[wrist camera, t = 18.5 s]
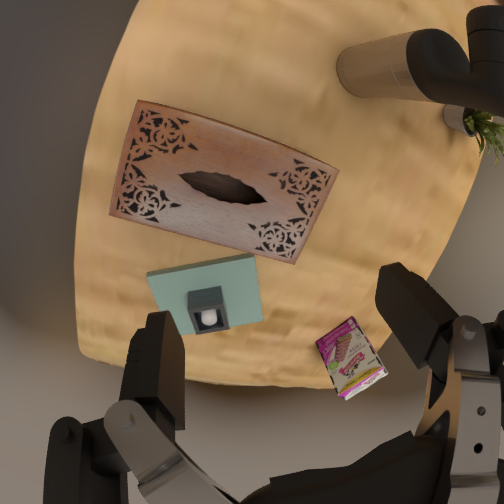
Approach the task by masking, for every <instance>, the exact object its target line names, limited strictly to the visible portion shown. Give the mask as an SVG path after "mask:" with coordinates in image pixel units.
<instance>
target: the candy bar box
mask: <svg viewBox="0 0 504 504" xmlns="http://www.w3.org/2000/svg"><path fill="white" fill-rule="evenodd" d="M316 345H317V347H318V349H319V352H320V354H321V356H322V359H323V361H324V364H325V366H326V368H327V370H328V373H329V375H330V378H331V380H332V382H333V385H334V387H335V390H336V392H337V394H338V396H340V397H342V398H343V399H345V400H347V399H349V398H351V397H352V396H354V395H355V394H357V393H359V392H361V391H362V390H364V389H366V388H367V387H369V386H370V385H371V384H373V383H375V382H376V381H378V380H379V379H381V378H383V377H384V376H386V375H387V374H388V372H387V370H386V369H385V367H384V366H383V363H382V362H381V360H380V358H379V356H378V355H377V353H376V351H375V350H374V348H373V346H372V345H371V343H370V341H369V340H368V338H367V336H366V335H365V333H364V331H363V330H362V328H361V327H360V325H359V324H358V322H357V321H356V320H355V319H354V317H353V316H352V317H351V318H349V319H348V320H347V321H345V322H344V323H342V324H341V325H340V326H338V327H337V328H335V329H334V330H332V331H331V332H330V333H328V334H327V335H325V336H324V337H322V338H321V339H319V340H318V341H316Z"/></svg>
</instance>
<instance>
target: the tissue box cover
mask: <svg viewBox="0 0 504 504" xmlns="http://www.w3.org/2000/svg"><path fill="white" fill-rule="evenodd" d="M339 171H340V170H338V169H336V168H334V167H332V166H330V165H328V164H326V163H324V162H322V161H320V160H318V159H316V158H314V157H312V156H309V155H307V154H305V153H303V152H300V151H298V150H296V149H293V148H291V147H288V146H286V145H284V144H281V143H279V142H276V141H274V140H271V139H268V138H266V137H263V136H261V135H258V134H255V133H252V132H250V131H247V130H244V129H241V128H239V127H236V126H233V125H230V124H227V123H224V122H221V121H218V120H214V119H211V118H208V117H205V116H202V115H198V114H195V113H191V112H188V111H184V110H181V109H177V108H173V107H169V106H166V105H162V104H158V103H153V102H148V101H142V100H137V103H136V106H135V109H134V112H133V115H132V118H131V122H130V125H129V128H128V132H127V135H126V139H125V142H124V146H123V150H122V154H121V158H120V162H119V166H118V170H117V175H116V179H115V184H114V189H113V194H112V199H111V205H110V210H109V215H110V216H113V217H117V218H121V219H125V220H128V221H132V222H136V223H139V224H143V225H147V226H151V227H154V228H158V229H162V230H166V231H169V232H173V233H177V234H181V235H184V236H188V237H192V238H196V239H199V240H203V241H207V242H211V243H214V244H218V245H222V246H226V247H229V248H233V249H237V250H241V251H245V252H248V253H252V254H256V255H260V256H263V257H267V258H271V259H275V260H278V261H282V262H286V263H290V264H294V265H295V263H296V261H297V259H298V257H299V255H300V253H301V251H302V249H303V247H304V245H305V243H306V241H307V239H308V237H309V235H310V233H311V231H312V228H313V226H314V224H315V222H316V220H317V218H318V216H319V214H320V212H321V210H322V208H323V206H324V203H325V201H326V199H327V197H328V195H329V193H330V191H331V188H332V186H333V184H334V182H335V180H336V178H337V175H338V173H339Z"/></svg>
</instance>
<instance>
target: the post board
mask: <svg viewBox="0 0 504 504" xmlns="http://www.w3.org/2000/svg"><path fill="white" fill-rule="evenodd" d="M146 278H147V281H148V283H149V286H150V288H151V291H152V293H153V296H154V298H155V301H156V303H157V305H158V308H159V310H160V311H166V310H169V311H170V312H171V314H172V317H173V319H174V321H175V324H176V326H177V328H178V331H179V333H180V335H187V334H193V333H196V332H195V330H194V327H193V324H192V322H191V319H190V316H189V313H188V310H187V305H188V291H194V290H199V289H205V288H210V287H216V286H221V287H222V292H223V296H224V300H225V304H226V309H227V314H228V321H229V327H234V326H239V325H244V324H249V323H254V322H259V321H263V315H262V308H261V301H260V293H259V286H258V279H257V271H256V264H255V257H254V254H252V253H248V254H242V255H237V256H232V257H226V258H221V259H216V260H210V261H205V262H200V263H194V264H189V265H184V266H179V267H173V268H168V269H163V270H157V271H152V272H147V276H146ZM217 309H219V308H217ZM200 312H201V317H202V322H203V323H204V324H205V325H213V324H215V323H216V322H217V315H216V309H211V310H205V311H200Z"/></svg>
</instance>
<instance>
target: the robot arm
mask: <svg viewBox="0 0 504 504" xmlns="http://www.w3.org/2000/svg"><path fill="white" fill-rule="evenodd" d="M466 28H467V36H468V47H469V59H470V63H469V60H468V58H467V56H466V54H465V52H464V50H463V49H462V47H461V46H460V45H459V43H458V42H457V41H456V40H455V39H454V38H453V37H452V36H450V35H449V34H448V33H446V32H444V31H442V30H439V29H423V30H418V31H413V32H408V33H403V34H399V35H395V36H390V37H386V38H382V39H379V40H375V41H371V42H368V43H364V44H361V45H357V46H354V47H351V48H348V49H346V50H345V51H343V52H342V53H341V55H340V56H339V58H338V61H337V73H338V77H339V79H340V81H341V83H342V84H343V86H344V87H345V88H346V89H347V90H348V91H349V92H350V93H352V94H353V95H355V96H358V97H361V98H387V99H404V100H416V101H427V102H436V103H443V104H450V105H456V106H461V107H466V108H471V109H476V110H480V111H484V112H488V113H491V114H494V115H497V116H500V117H503V118H504V6H501V5H486V6H480V7H477V8H474V9H472V10H471V11H469V13H468V14H467V17H466ZM375 303H376V307H377V310H378V311H379V313H380V314H381V316H382V317H383V318H384V320H385V321H386V323H387V324H388V326H389V327H390V328H391V330H392V331H393V333H394V334H395V335H396V337H397V338H398V340H399V341H400V343H401V344H402V346H403V347H404V348H405V350H406V352H407V353H408V355H409V356H410V358H411V359H412V361H413V362H414V364H415V365H416V367H417V368H418V369H421V368H423V367H425V366H427V365H429V366H430V368H431V369H430V371H429V374H428V383H427V391H426V398H425V405H424V411H423V416H422V418H421V421H420V422H419V424H418V427H417V429H416V432H415V436H413V434H412V432H411V430H410V431H408V432H406V433H404V434H402V435H400V436H398V437H396V438H394V439H392V440H389V441H387V442H385V443H383V444H381V445H379V446H378V447H376V448H375V449H373V450H372V451H371V452H369V453H368V454H366V455H365V456H363V457H362V458H360V459H359V460H357V461H356V462H354V463H353V464H351V465H349V466H345V467H337V468H325V469H310V470H309V469H308V470H304V471H300V472H296V473H291V474H287V475H282V476H277V477H272V478H270V484H268V485H266V486H263V487H262V488H260V489H258V490H256V491H254V492H253V493H251V494H250V495H248V496H247V497H246V498H245V499H244V500H242V501H241V502H239V501H238V500H237V499H236V498H235V497H233V496H232V495H231V494H230V493H228V492H227V491H226V490H225V489H224V488H223V487H221V486H220V485H219V484H218V483H217V482H216V481H214V480H213V479H212V478H211V477H209V475H208V474H207V473H205V472H204V471H203V470H202V469H201V468H200V467H199V466H198V465H197V464H196V463H195V462H194V461H193V460H192V459H191V458H190V457H189V456H188V454H187V453H186V452H185V451H184V450H183V449H182V448H181V447H180V446H179V445H178V444H177V443H176V442H175V430H185V408H184V407H185V398H184V397H185V394H184V393H185V348H184V343H183V340H182V337H181V335H180V333H179V331H178V328H177V326H176V324H175V321H174V319H173V317H172V314H171V312H170V311H169V310H166V311H160V312H153V313H149V314H148V316H147V321H146V326H145V328H141V329H138V330H137V331H136V333H135V334H134V336H133V337H132V339H131V341H130V345H129V350H128V352H129V354H128V355H127V359H126V362H127V363H126V364H125V369H124V375H123V380H122V385H121V391H120V397H119V401H118V402H116V403H114V404H113V405H112V406H111V407H110V408H109V409H108V410H107V412H106V414H105V416H104V418H101V419H97V420H94V421H91V422H87V423H83V424H81V423H80V422H79V421H77V420H76V419H75V418H73V417H63V418H60V419H59V420H57V421H56V422H55V423H54V425H53V427H52V429H51V432H50V437H49V444H48V451H47V458H46V467H45V477H44V491H43V492H44V494H43V504H129V503H128V483H127V472H129V471H132V472H133V474H134V475H135V477H136V478H137V479H138V482H139V484H138V489H139V491H140V493H141V494H142V496H143V497H144V498H145V500H146V501H147V502H148V503H149V504H504V460H503V459H500V458H498V456H499V446H500V431H501V426H502V428H503V430H504V365H503V362H504V310H503V311H501V312H500V313H499V314H498V316H497V318H496V320H495V322H491V323H485V324H481V323H480V321H479V320H477V319H476V318H474V317H471V316H466V315H465V316H459V315H458V314H457V313H456V312H455V311H454V310H453V309H452V308H451V306H450V305H449V304H448V303H447V302H446V301H445V300H444V299H443V298H442V297H441V296H440V295H439V294H438V293H436V291H435V290H434V289H433V288H432V287H430V285H429V284H428V283H427V282H426V281H425V280H424V279H423V278H422V277H421V276H419V275H417V274H415V273H413V272H412V271H411V272H409V271H408V270H407V269H406V268H405V267H404V266H403V265H402V264H401V263H400V262H396V263H392V264H388V265H384V266H382V267H381V268H380V270H379V277H378V283H377V289H376V295H375Z"/></svg>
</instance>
